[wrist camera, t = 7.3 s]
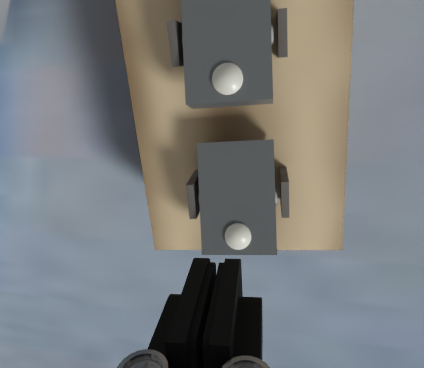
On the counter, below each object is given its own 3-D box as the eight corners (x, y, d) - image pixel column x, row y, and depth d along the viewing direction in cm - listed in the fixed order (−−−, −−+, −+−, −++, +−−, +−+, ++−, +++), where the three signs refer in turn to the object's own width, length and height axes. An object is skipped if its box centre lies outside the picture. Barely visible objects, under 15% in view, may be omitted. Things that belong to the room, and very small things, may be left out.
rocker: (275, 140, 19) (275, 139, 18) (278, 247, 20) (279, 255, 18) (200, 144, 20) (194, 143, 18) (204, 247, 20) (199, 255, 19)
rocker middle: (271, -25, 17) (271, -44, 15) (274, 103, 17) (275, 97, 15) (185, -14, 17) (176, -32, 16) (190, 109, 18) (182, 104, 16)
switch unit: (332, -195, 20) (392, -422, 11) (323, 199, 29) (352, 274, 19) (131, -155, 23) (26, -315, 13) (177, 202, 31) (135, 272, 21)
